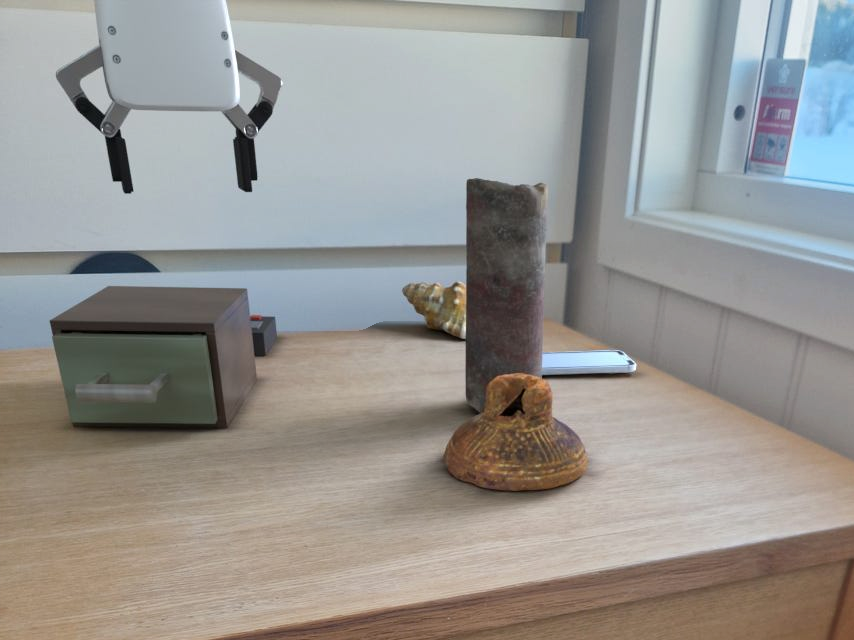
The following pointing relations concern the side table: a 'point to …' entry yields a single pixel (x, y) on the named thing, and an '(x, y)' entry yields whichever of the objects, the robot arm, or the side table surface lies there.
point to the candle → (503, 282)
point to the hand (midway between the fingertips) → (188, 191)
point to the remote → (263, 333)
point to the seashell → (440, 305)
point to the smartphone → (586, 362)
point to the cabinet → (179, 312)
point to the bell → (516, 440)
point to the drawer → (136, 377)
